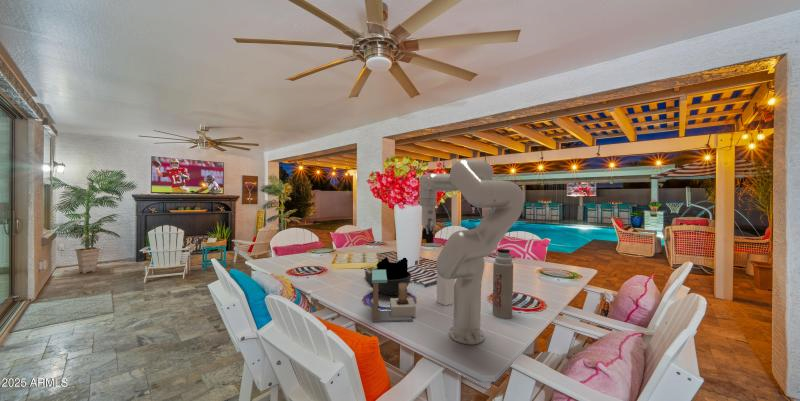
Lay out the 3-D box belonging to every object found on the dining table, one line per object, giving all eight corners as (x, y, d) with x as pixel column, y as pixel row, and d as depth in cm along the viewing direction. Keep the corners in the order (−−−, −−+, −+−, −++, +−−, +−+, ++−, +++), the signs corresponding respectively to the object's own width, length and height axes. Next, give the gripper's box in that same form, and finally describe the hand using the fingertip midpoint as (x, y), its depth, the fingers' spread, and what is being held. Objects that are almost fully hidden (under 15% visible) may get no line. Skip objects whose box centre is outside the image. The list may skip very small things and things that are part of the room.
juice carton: (363, 277, 177) (364, 267, 177) (379, 276, 180) (379, 266, 180) (371, 288, 158) (371, 277, 158) (389, 287, 161) (389, 276, 161)
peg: (407, 313, 124) (407, 285, 123) (398, 313, 124) (399, 285, 123) (406, 309, 128) (406, 282, 127) (397, 309, 127) (398, 282, 127)
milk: (445, 306, 134) (446, 258, 133) (436, 301, 139) (436, 255, 138) (454, 302, 138) (455, 256, 137) (445, 299, 143) (446, 254, 142)
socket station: (416, 321, 118) (416, 279, 117) (371, 322, 117) (371, 280, 116) (411, 305, 134) (412, 268, 133) (372, 306, 133) (372, 269, 132)
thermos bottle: (501, 319, 120) (502, 252, 119) (488, 312, 127) (489, 248, 126) (516, 317, 123) (517, 250, 122) (503, 309, 130) (504, 247, 129)
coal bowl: (363, 296, 145) (364, 259, 144) (383, 285, 163) (383, 251, 162) (400, 304, 136) (400, 263, 135) (416, 290, 154) (417, 255, 153)
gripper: (440, 203, 122) (440, 244, 122) (432, 201, 139) (432, 237, 139) (422, 203, 121) (422, 244, 122) (417, 201, 138) (416, 237, 139)
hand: (427, 240), depth 131 cm, fingers open, 9 cm apart
